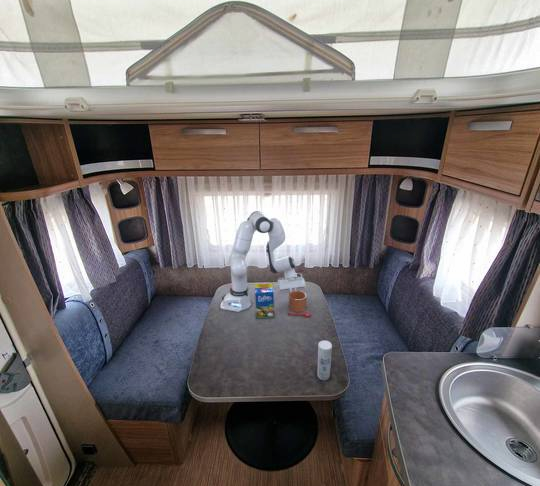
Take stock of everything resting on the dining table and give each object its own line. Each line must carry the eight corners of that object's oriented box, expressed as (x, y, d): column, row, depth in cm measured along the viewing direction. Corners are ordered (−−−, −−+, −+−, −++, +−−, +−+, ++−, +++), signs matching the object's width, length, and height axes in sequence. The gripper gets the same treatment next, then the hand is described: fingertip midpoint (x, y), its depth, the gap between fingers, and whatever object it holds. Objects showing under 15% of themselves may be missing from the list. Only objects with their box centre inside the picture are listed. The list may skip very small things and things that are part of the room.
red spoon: (287, 316, 194) (287, 314, 193) (288, 312, 198) (288, 311, 197) (310, 317, 192) (310, 315, 191) (310, 314, 195) (310, 312, 195)
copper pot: (288, 311, 199) (288, 299, 195) (290, 302, 210) (290, 290, 206) (305, 312, 197) (305, 300, 193) (306, 303, 208) (306, 291, 204)
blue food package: (256, 313, 198) (254, 282, 188) (274, 312, 198) (272, 281, 188) (256, 318, 192) (254, 286, 182) (274, 318, 193) (273, 285, 182)
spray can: (328, 370, 148) (330, 340, 140) (331, 380, 142) (333, 349, 134) (316, 370, 148) (317, 340, 140) (318, 380, 142) (319, 349, 134)
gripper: (277, 277, 209) (280, 295, 205) (304, 274, 213) (308, 291, 208) (276, 280, 215) (279, 297, 210) (302, 276, 219) (306, 293, 214)
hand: (294, 294), depth 209 cm, fingers closed
